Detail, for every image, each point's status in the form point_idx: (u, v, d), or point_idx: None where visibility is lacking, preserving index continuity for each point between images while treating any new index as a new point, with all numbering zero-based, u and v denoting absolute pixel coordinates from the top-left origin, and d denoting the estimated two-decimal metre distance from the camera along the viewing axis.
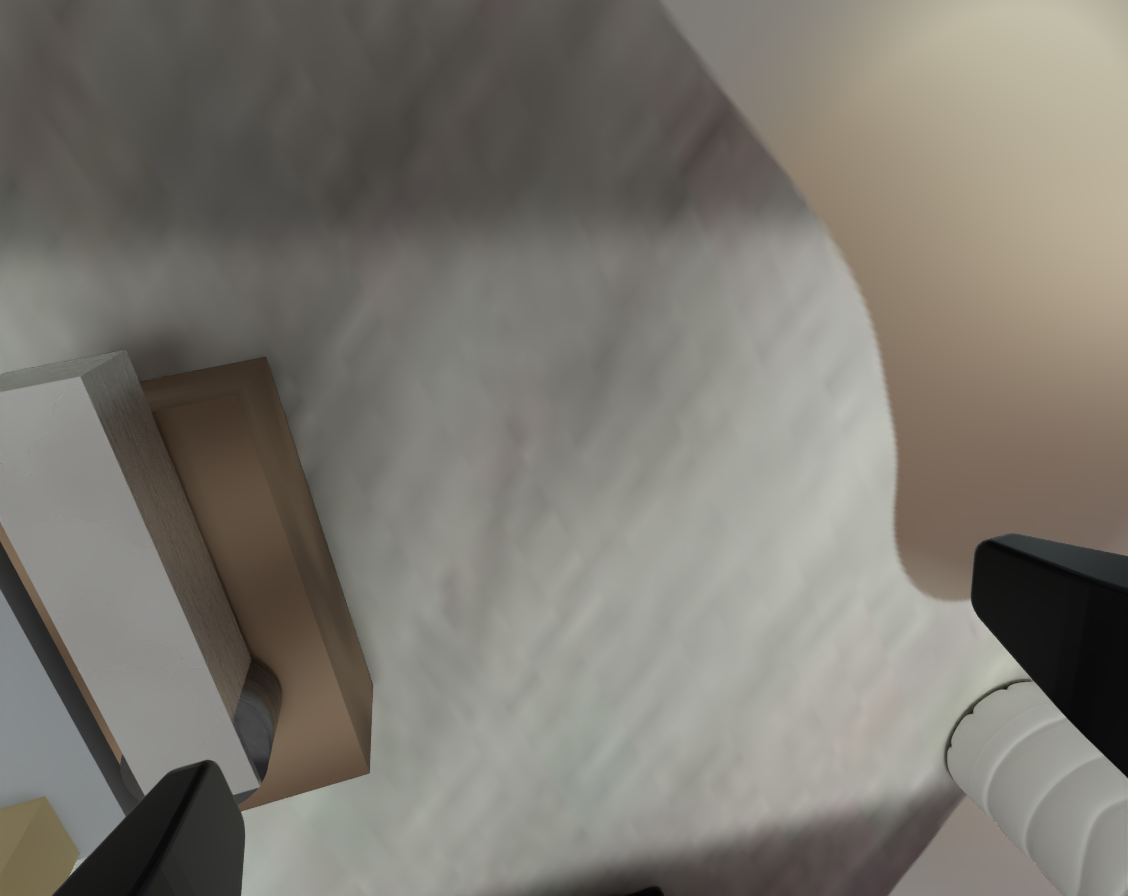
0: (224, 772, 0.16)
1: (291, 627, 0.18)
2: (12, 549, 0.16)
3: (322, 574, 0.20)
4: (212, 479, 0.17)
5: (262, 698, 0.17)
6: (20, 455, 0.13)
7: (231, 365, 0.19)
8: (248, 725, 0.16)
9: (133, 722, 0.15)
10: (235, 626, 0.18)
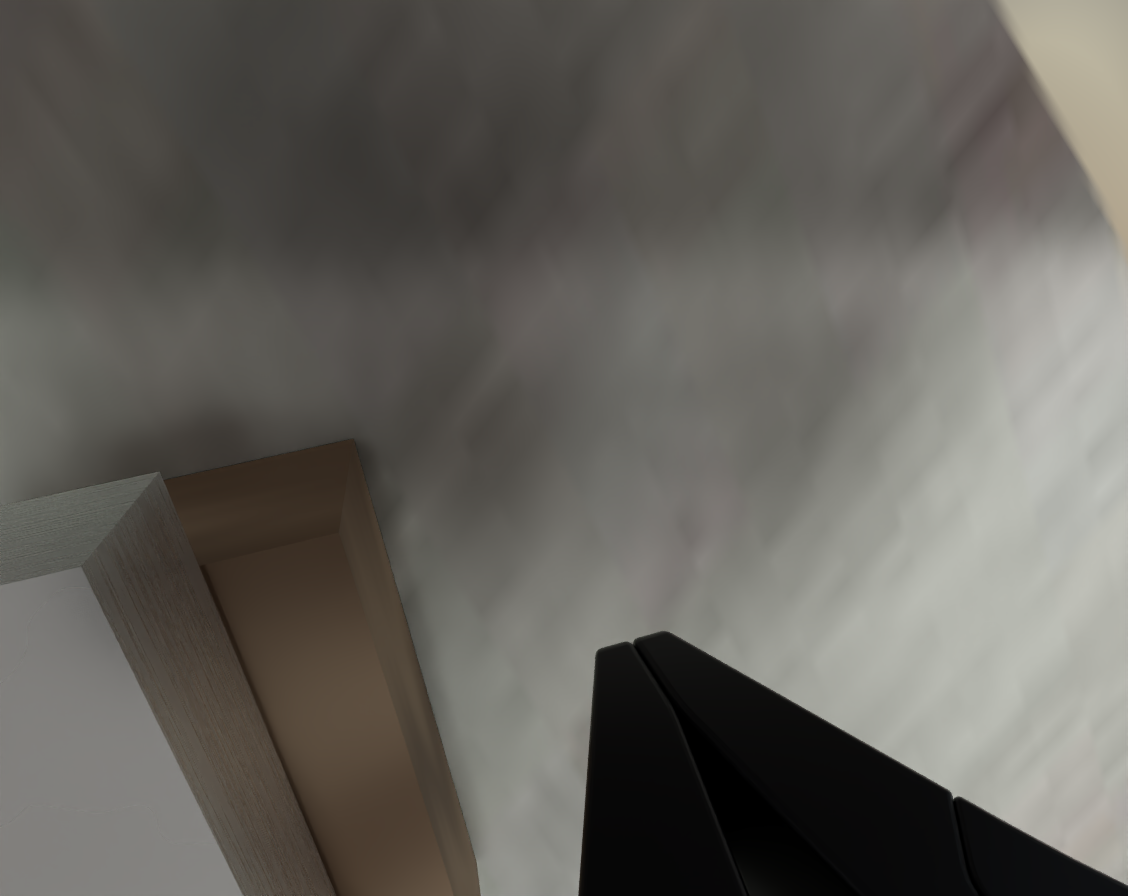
0: None
1: (402, 859, 0.12)
2: None
3: (431, 749, 0.14)
4: (294, 662, 0.10)
5: None
6: None
7: (305, 453, 0.13)
8: None
9: None
10: (322, 875, 0.11)
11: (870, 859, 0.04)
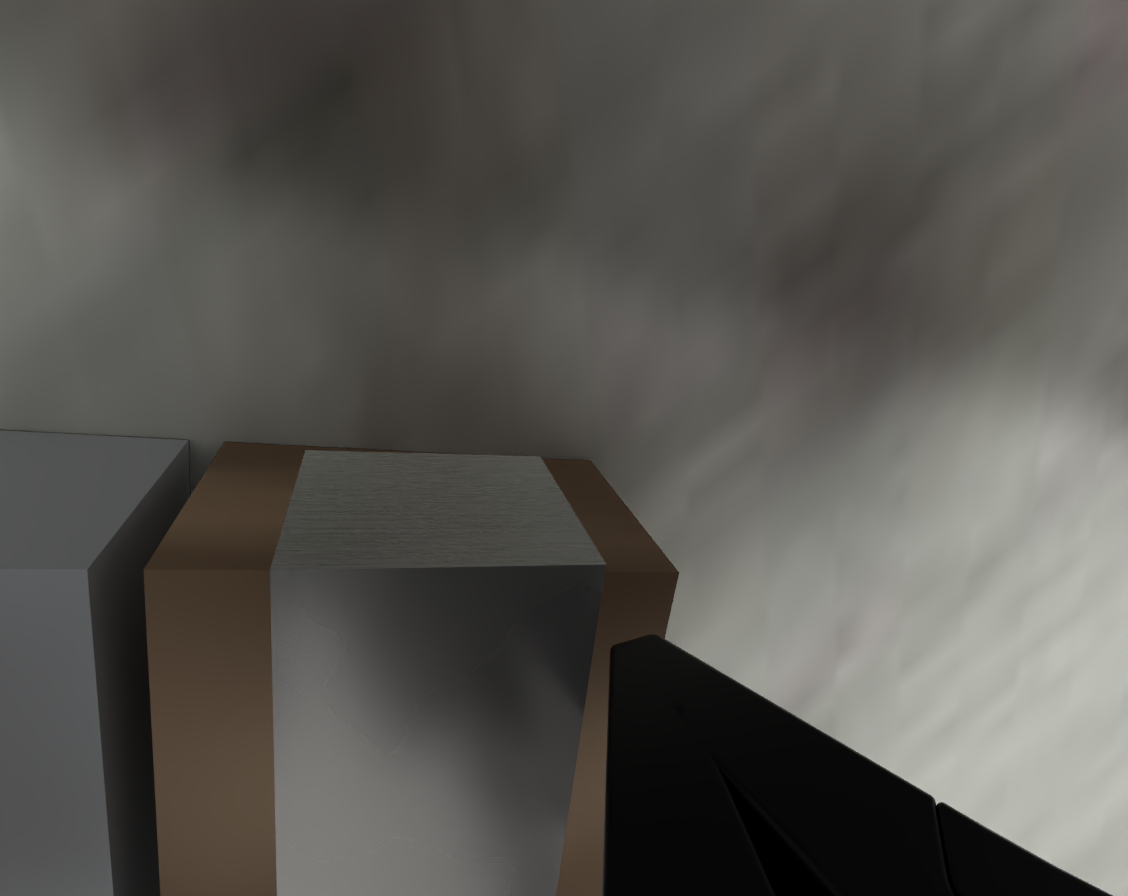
0: None
1: None
2: (168, 765, 0.08)
3: None
4: None
5: None
6: (391, 711, 0.05)
7: (545, 463, 0.12)
8: None
9: None
10: None
11: (851, 866, 0.04)
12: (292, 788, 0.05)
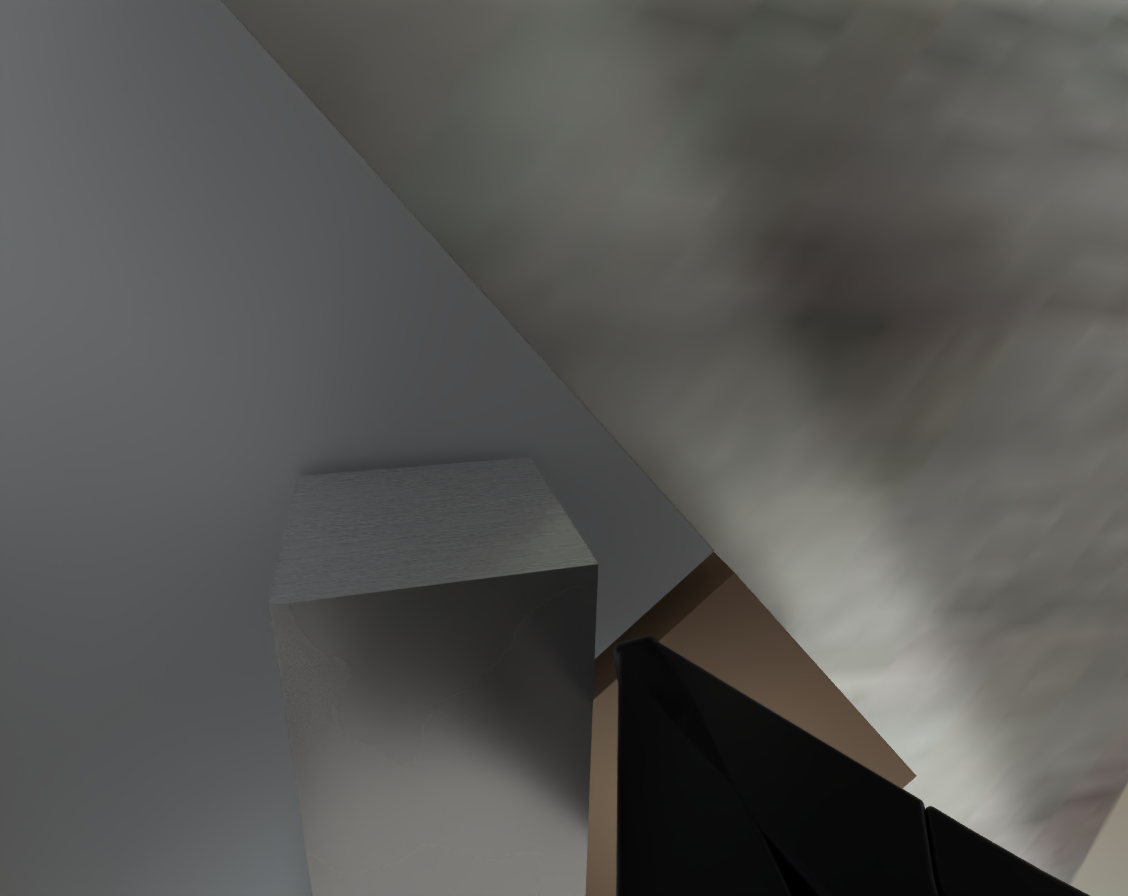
0: None
1: None
2: (601, 704, 0.09)
3: None
4: None
5: None
6: (404, 726, 0.05)
7: None
8: None
9: None
10: None
11: (838, 870, 0.04)
12: (317, 809, 0.05)
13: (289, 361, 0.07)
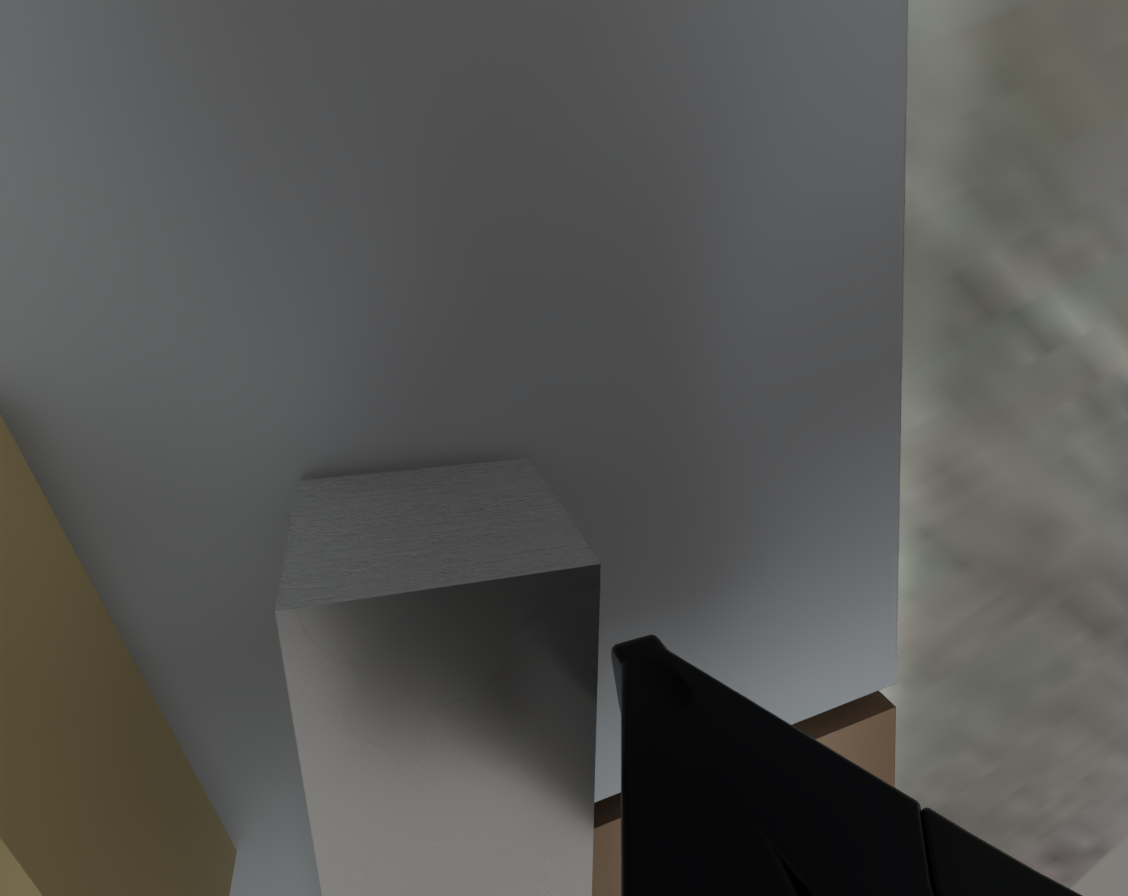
0: None
1: None
2: None
3: None
4: None
5: None
6: (412, 727, 0.05)
7: None
8: None
9: None
10: None
11: (834, 872, 0.04)
12: (325, 812, 0.05)
13: (774, 408, 0.09)
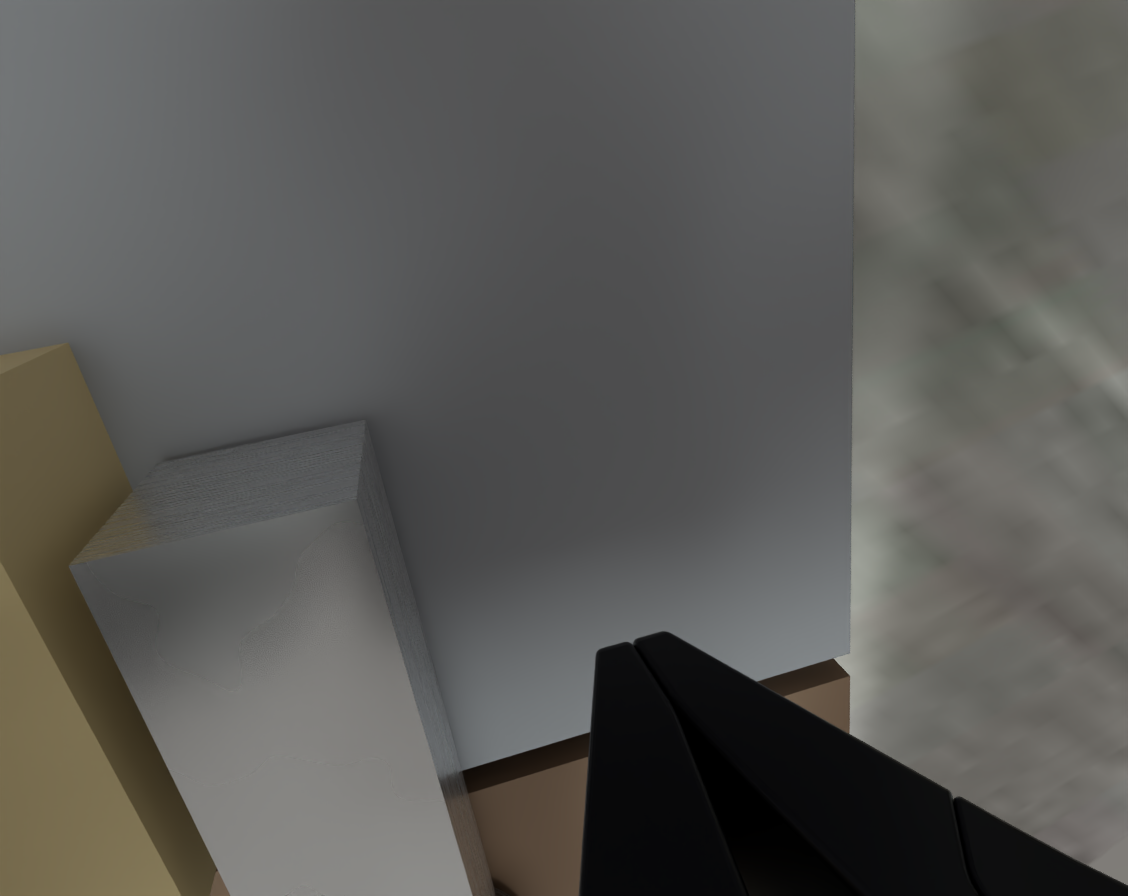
0: None
1: None
2: None
3: None
4: None
5: None
6: (223, 657, 0.06)
7: None
8: None
9: None
10: (481, 847, 0.11)
11: (870, 860, 0.04)
12: (165, 732, 0.07)
13: (733, 388, 0.10)
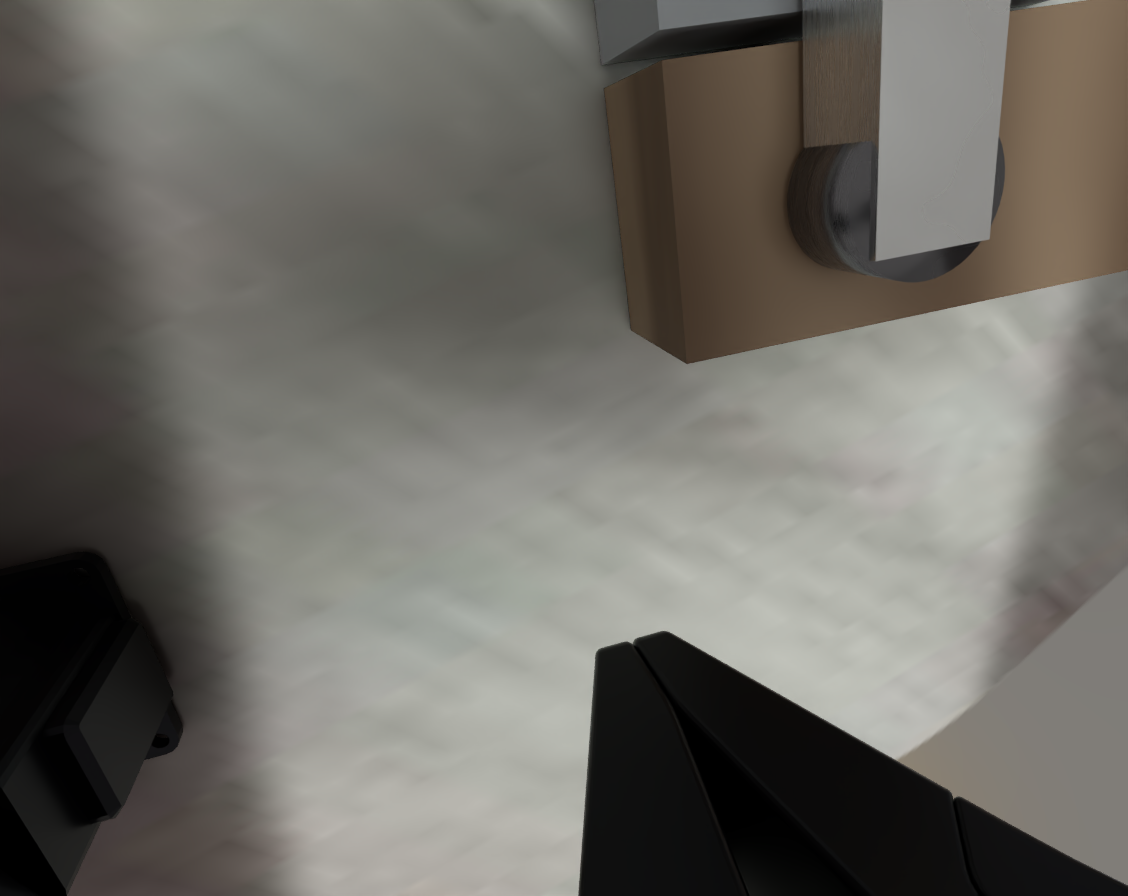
0: (963, 204, 0.13)
1: (909, 289, 0.16)
2: (1085, 8, 0.15)
3: None
4: (1079, 232, 0.16)
5: None
6: None
7: None
8: None
9: (907, 89, 0.12)
10: None
11: (871, 859, 0.04)
12: None
13: None
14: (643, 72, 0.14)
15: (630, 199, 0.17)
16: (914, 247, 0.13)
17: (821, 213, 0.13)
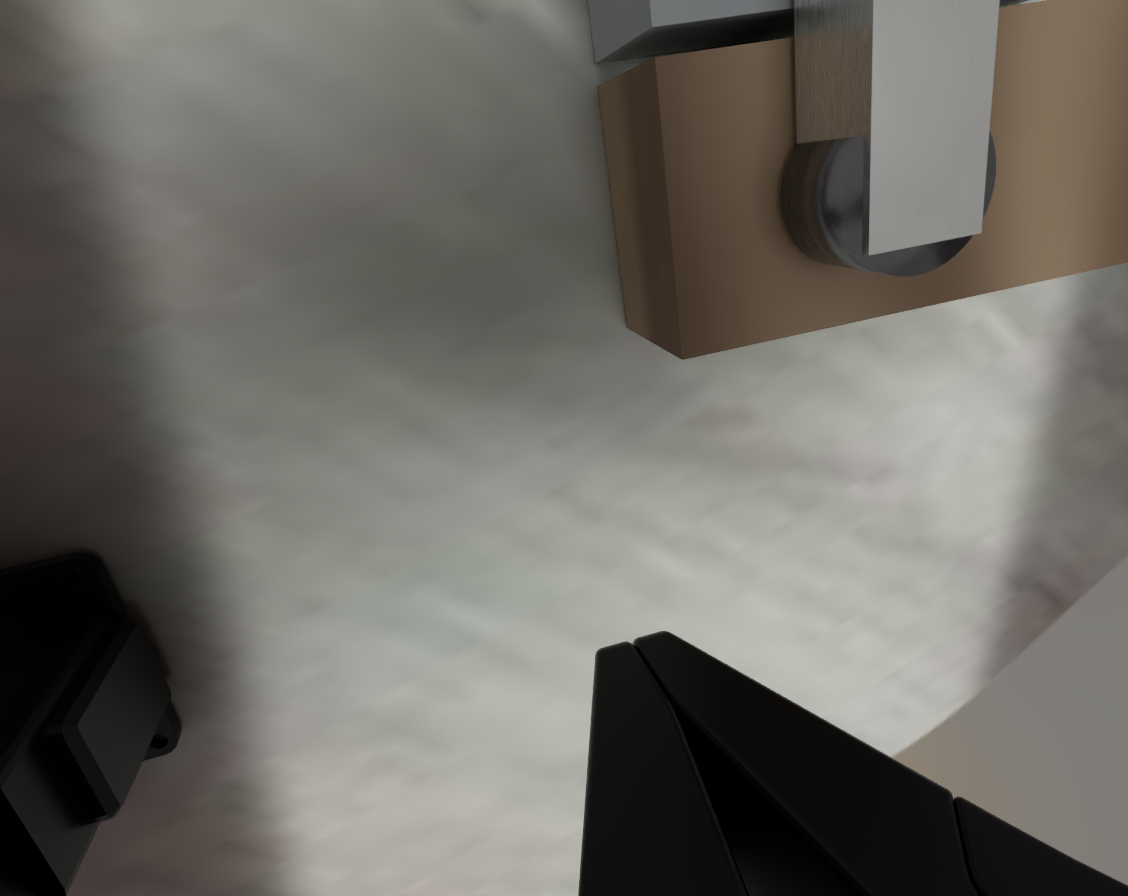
0: (955, 198, 0.13)
1: (902, 283, 0.16)
2: (1074, 4, 0.15)
3: None
4: (1070, 227, 0.17)
5: None
6: None
7: None
8: None
9: (898, 84, 0.12)
10: None
11: (870, 859, 0.04)
12: None
13: None
14: (636, 70, 0.14)
15: (625, 196, 0.17)
16: (907, 241, 0.13)
17: (814, 208, 0.13)
